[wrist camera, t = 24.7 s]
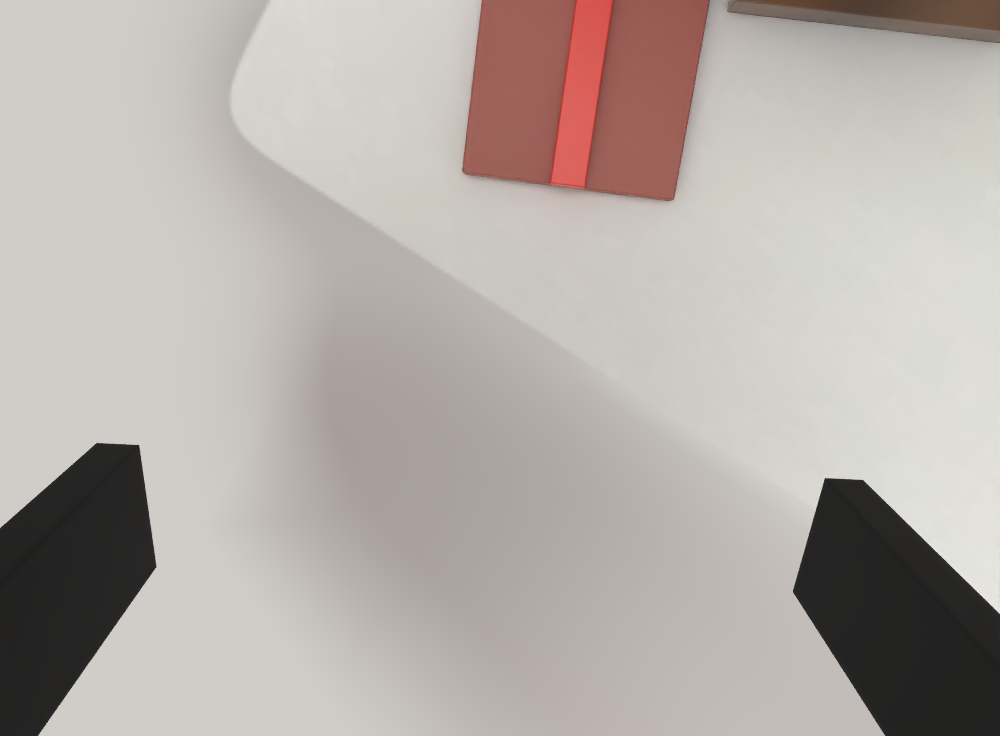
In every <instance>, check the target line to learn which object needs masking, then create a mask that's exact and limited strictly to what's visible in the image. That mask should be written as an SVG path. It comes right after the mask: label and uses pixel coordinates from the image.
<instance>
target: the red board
mask: <svg viewBox="0 0 1000 736" xmlns="http://www.w3.org/2000/svg"><path fill="white" fill-rule="evenodd" d="M709 1H710V0H613V6H612V13H611V20H610V26H609V33H608V39H607V46H606V52H605V59H604V66H603V72H602V79H601V85H600V92H599V99H598V105H597V112H596V118H595V125H594V131H593V138H592V145H591V151H590V158H589V164H588V171H587V177H586V184H585V187H584V189H582V190H590V191H597V192H605V193H613V194H620V195H628V196H636V197H643V198H651V199H659V200H666V201H670V200H673V199H674V196H675V190H676V185H677V179H678V174H679V168H680V163H681V157H682V151H683V146H684V140H685V135H686V129H687V124H688V118H689V112H690V107H691V101H692V96H693V90H694V85H695V79H696V74H697V68H698V62H699V57H700V51H701V46H702V40H703V35H704V29H705V23H706V18H707V12H708V7H709ZM575 3H576V0H482V6H481V14H480V23H479V31H478V40H477V49H476V57H475V66H474V74H473V83H472V92H471V100H470V109H469V118H468V126H467V135H466V143H465V152H464V161H463V169H462V171H463V173H465V174H467V175H475V176H483V177H490V178H498V179H506V180H513V181H521V182H529V183H536V184H544V185H551V183H550V180H551V172H552V165H553V158H554V151H555V144H556V137H557V130H558V123H559V116H560V109H561V102H562V95H563V88H564V81H565V74H566V67H567V59H568V52H569V45H570V38H571V31H572V24H573V17H574V10H575ZM551 186H556V185H551ZM559 187H564V186H559ZM567 188H572V187H567ZM574 189H579V188H574Z"/></svg>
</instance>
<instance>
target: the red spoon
mask: <svg viewBox="0 0 1000 736" xmlns="http://www.w3.org/2000/svg"><path fill="white" fill-rule="evenodd" d="M612 6H613V0H576V3H575V10H574V17H573V24H572V31H571V38H570V45H569V52H568V59H567V67H566V74H565V81H564V88H563V95H562V102H561V109H560V116H559V123H558V130H557V137H556V144H555V151H554V158H553V165H552V172H551V180H550V183H551V185H556V186H564V187H572V188H579V189H584V187H585V184H586V177H587V171H588V164H589V158H590V151H591V145H592V138H593V131H594V125H595V118H596V112H597V105H598V99H599V92H600V85H601V79H602V72H603V66H604V59H605V52H606V46H607V39H608V33H609V26H610V20H611V13H612Z"/></svg>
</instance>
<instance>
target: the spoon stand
mask: <svg viewBox="0 0 1000 736" xmlns="http://www.w3.org/2000/svg"><path fill="white" fill-rule="evenodd" d="M728 12H734V13H743V14H752V15H761V16H769V17H778V18H787V19H796V20H804V21H813V22H822V23H831V24H839V25H848V26H857V27H866V28H874V29H883V30H892V31H901V32H909V33H918V34H927V35H936V36H945V37H953V38H962V39H971V40H980V41H988V42H997V43H1000V0H729V5H728Z"/></svg>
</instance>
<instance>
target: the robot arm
mask: <svg viewBox="0 0 1000 736" xmlns="http://www.w3.org/2000/svg"><path fill="white" fill-rule="evenodd" d="M155 568H156V561H155V553H154V546H153V539H152V532H151V525H150V519H149V511H148V505H147V498H146V490H145V483H144V476H143V469H142V462H141V455H140V448H139V445H126V444H103V443H96V444H95V445H94V446H93V447H92V448H91V449H90V450H89V451H87V452H86V453H85V454H84V455H83V456H82V457H81V458H80V459H78V460H77V461H76V462H75V463H74V464H73V465H71V466H70V467H69V468H68V469H67V470H66V471H65V472H63V473H62V474H61V475H60V476H59V477H58V478H57V479H56V480H54V481H53V482H52V483H51V484H50V485H49V486H48V487H46V488H45V489H44V490H43V491H42V492H41V493H40V494H38V495H37V496H36V497H35V498H34V499H33V500H32V501H31V502H29V503H28V504H27V505H26V506H25V507H24V508H23V509H21V510H20V511H19V512H18V513H17V514H16V515H15V516H13V517H12V518H11V519H10V520H9V521H8V522H7V523H6V524H4V525H3V526H2V527H1V528H0V736H38V735H39V733H40V732H41V730H42V729H43V728H44V726H45V725H46V723H47V722H48V721H49V719H50V717H51V716H52V715H53V713H54V712H55V711H56V709H57V708H58V706H59V705H60V703H61V702H62V701H63V699H64V698H65V696H66V695H67V693H68V692H69V691H70V689H71V688H72V686H73V685H74V684H75V682H76V681H77V679H78V678H79V676H80V675H81V673H82V672H83V671H84V669H85V668H86V666H87V665H88V663H89V662H90V661H91V659H92V658H93V656H94V655H95V654H96V652H97V650H98V649H99V648H100V646H101V645H102V643H103V642H104V641H105V639H106V638H107V636H108V635H109V634H110V632H111V631H112V629H113V628H114V626H115V625H116V624H117V622H118V621H119V619H120V618H121V617H122V615H123V613H124V612H125V611H126V609H127V608H128V606H129V605H130V604H131V602H132V601H133V599H134V598H135V596H136V595H137V594H138V592H139V591H140V589H141V588H142V586H143V585H144V584H145V582H146V581H147V579H148V578H149V577H150V575H151V574H152V572H153V571H154V570H155ZM793 593H794V594H795V596H796V598H797V599H798V600H799V602H800V604H801V605H802V607H803V608H804V610H805V611H806V613H807V615H808V616H809V618H810V619H811V621H812V622H813V624H814V626H815V627H816V629H817V630H818V632H819V633H820V635H821V636H822V638H823V639H824V641H825V643H826V644H827V646H828V647H829V649H830V650H831V652H832V654H833V655H834V657H835V658H836V660H837V661H838V663H839V664H840V666H841V668H842V669H843V671H844V672H845V674H846V675H847V677H848V678H849V680H850V682H851V683H852V684H853V686H854V688H855V689H856V691H857V693H858V694H859V696H860V697H861V699H862V700H863V702H864V703H865V705H866V706H867V708H868V710H869V711H870V713H871V714H872V716H873V717H874V719H875V721H876V722H877V724H878V725H879V727H880V728H881V730H882V731H883V733H884V735H885V736H1000V614H999V613H998V612H997V611H996V610H995V609H994V608H993V607H992V606H991V605H990V604H989V603H988V602H987V601H986V600H985V599H984V598H983V597H982V596H981V595H980V594H979V593H978V592H977V591H976V590H975V589H974V588H973V587H972V586H971V585H970V584H968V583H967V582H966V581H965V580H964V579H963V578H962V577H961V576H960V575H959V574H958V573H957V572H956V571H955V570H954V569H953V568H952V567H951V566H950V565H949V564H948V563H947V562H946V561H945V560H944V559H943V558H942V557H941V556H940V555H939V554H938V553H937V552H936V551H935V550H934V549H933V548H932V547H931V546H930V545H929V544H928V543H927V542H926V541H925V540H924V539H923V538H922V537H921V536H920V535H918V534H917V533H916V532H915V531H914V530H913V529H912V528H911V527H910V526H909V525H908V524H907V523H906V522H905V521H904V520H903V519H902V518H901V517H900V516H899V515H898V514H897V513H896V512H895V511H894V510H893V509H892V508H891V507H890V506H889V505H888V504H887V503H886V502H885V501H884V500H883V499H882V498H881V497H880V496H879V495H878V494H877V493H876V492H875V491H874V490H873V489H872V488H871V487H869V486H868V485H867V484H866V483H865V482H864V481H863V480H851V479H830V478H825V480H824V484H823V487H822V491H821V494H820V498H819V501H818V505H817V508H816V512H815V516H814V519H813V523H812V526H811V530H810V533H809V537H808V541H807V544H806V547H805V551H804V554H803V558H802V561H801V565H800V568H799V572H798V575H797V579H796V582H795V586H794V589H793Z"/></svg>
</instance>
